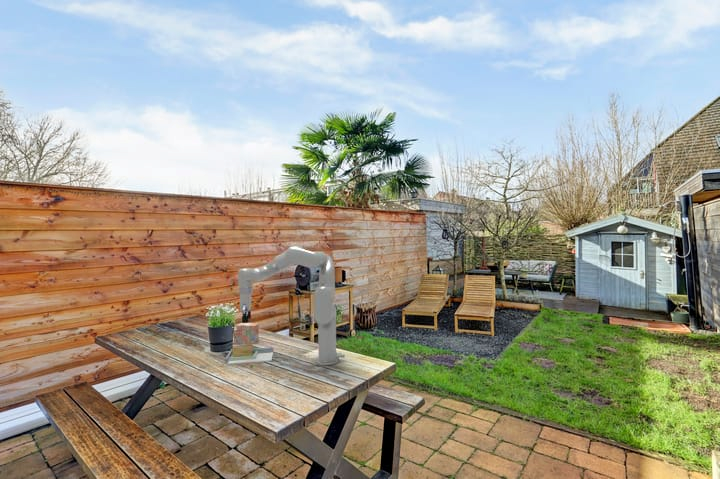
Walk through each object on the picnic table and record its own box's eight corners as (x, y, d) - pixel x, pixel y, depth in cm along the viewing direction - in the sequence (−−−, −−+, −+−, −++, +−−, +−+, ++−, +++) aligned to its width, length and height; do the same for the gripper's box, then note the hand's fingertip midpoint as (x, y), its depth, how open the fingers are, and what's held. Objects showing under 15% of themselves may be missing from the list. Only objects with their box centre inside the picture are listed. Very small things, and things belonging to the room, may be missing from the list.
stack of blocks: (222, 344, 216) (222, 325, 216) (227, 341, 222) (226, 322, 222) (255, 344, 215) (255, 325, 215) (258, 341, 221) (258, 322, 221)
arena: (273, 352, 199) (273, 347, 199) (271, 361, 185) (271, 355, 185) (230, 355, 194) (230, 350, 194) (225, 364, 181) (225, 358, 181)
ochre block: (234, 355, 192) (234, 345, 192) (252, 354, 194) (252, 344, 194) (232, 358, 187) (232, 348, 187) (251, 357, 189) (251, 346, 189)
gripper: (241, 288, 197) (242, 317, 197) (235, 293, 180) (236, 325, 180) (254, 287, 199) (255, 316, 199) (250, 292, 182) (251, 324, 182)
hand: (246, 320), depth 190 cm, fingers open, 9 cm apart
